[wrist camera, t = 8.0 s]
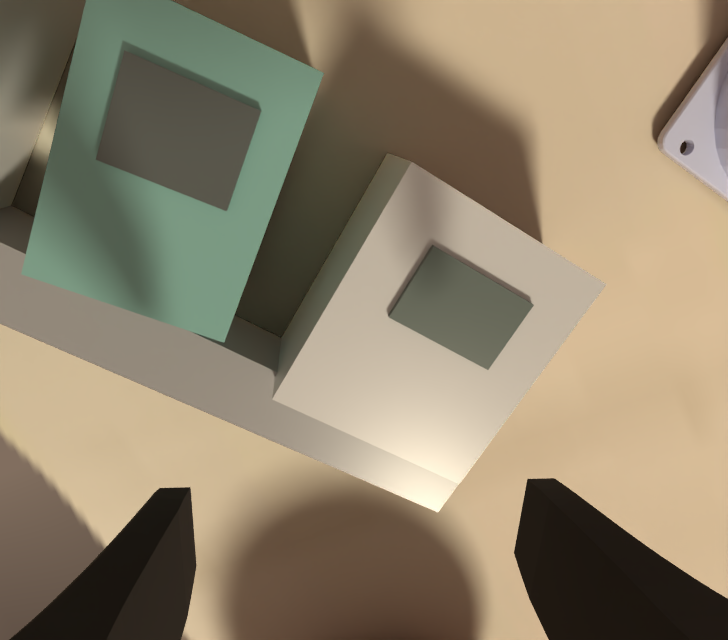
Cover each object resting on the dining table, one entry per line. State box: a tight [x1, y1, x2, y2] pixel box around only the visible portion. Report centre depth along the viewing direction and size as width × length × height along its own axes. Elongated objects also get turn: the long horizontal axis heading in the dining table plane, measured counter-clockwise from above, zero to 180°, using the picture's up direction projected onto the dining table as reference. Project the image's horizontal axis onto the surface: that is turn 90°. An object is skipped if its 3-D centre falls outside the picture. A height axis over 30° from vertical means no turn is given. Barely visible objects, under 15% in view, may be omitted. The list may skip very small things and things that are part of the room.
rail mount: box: [0, 0, 606, 512], centre depth 16 cm, size 26×10×5 cm, turn 59°
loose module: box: [21, 0, 324, 343], centre depth 15 cm, size 5×7×6 cm
